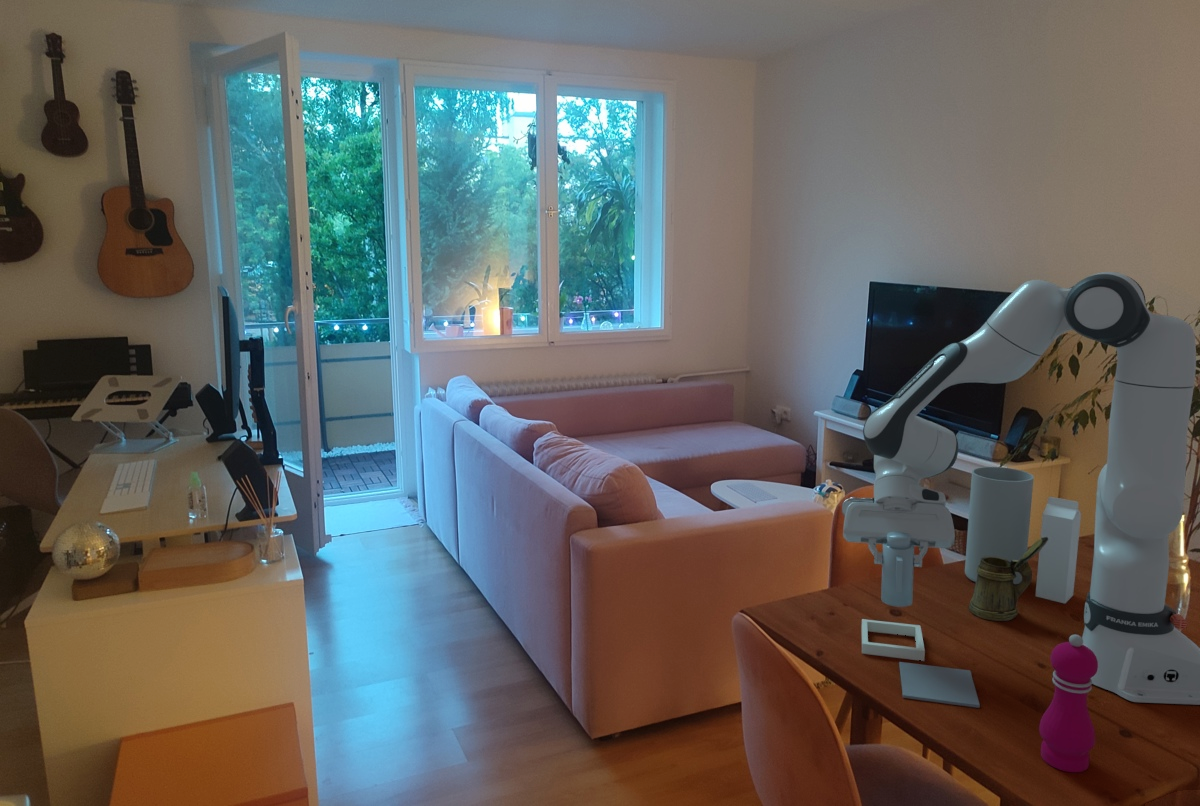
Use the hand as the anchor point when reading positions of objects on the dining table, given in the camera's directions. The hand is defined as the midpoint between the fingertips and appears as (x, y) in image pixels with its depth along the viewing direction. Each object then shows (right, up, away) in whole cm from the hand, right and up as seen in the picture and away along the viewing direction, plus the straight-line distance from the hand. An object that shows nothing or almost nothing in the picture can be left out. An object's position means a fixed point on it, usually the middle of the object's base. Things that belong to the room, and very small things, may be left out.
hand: (898, 564), depth 156 cm
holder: (0, -16, +4) cm, 17 cm away
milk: (+43, -12, +25) cm, 51 cm away
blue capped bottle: (0, -7, +1) cm, 8 cm away
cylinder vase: (+35, -10, +35) cm, 50 cm away
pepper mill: (+13, -23, -33) cm, 42 cm away
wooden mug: (+28, -14, +16) cm, 35 cm away
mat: (+3, -19, -11) cm, 22 cm away
